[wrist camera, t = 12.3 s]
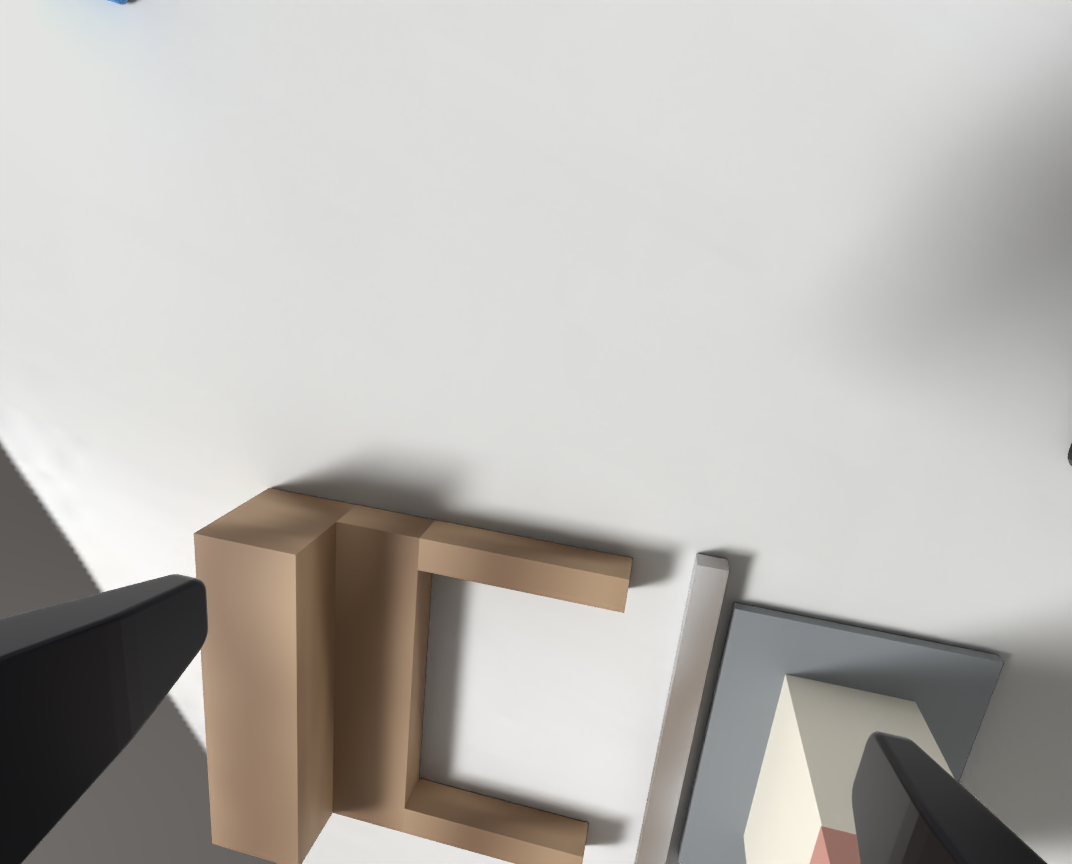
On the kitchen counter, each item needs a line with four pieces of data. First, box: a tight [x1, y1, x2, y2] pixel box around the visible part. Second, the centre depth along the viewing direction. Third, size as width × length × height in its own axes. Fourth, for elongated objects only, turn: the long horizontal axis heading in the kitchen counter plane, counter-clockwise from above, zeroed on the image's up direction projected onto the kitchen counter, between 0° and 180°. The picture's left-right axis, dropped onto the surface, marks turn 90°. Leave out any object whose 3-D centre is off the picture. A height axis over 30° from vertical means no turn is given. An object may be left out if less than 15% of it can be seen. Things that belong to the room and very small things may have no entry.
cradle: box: [194, 488, 729, 864], centre depth 23 cm, size 16×14×4 cm
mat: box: [678, 603, 1004, 864], centre depth 22 cm, size 8×11×1 cm
